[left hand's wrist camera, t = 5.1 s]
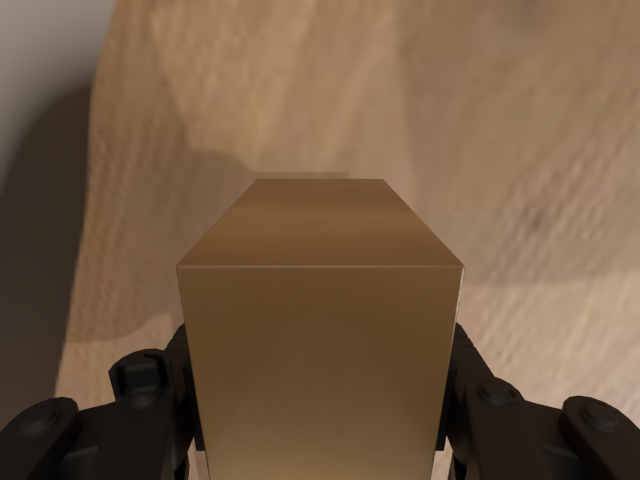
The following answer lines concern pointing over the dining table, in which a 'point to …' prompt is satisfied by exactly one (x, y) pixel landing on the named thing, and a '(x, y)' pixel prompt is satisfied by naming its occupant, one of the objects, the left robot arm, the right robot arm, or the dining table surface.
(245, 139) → the dining table surface
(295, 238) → the bar
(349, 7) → the dining table surface
